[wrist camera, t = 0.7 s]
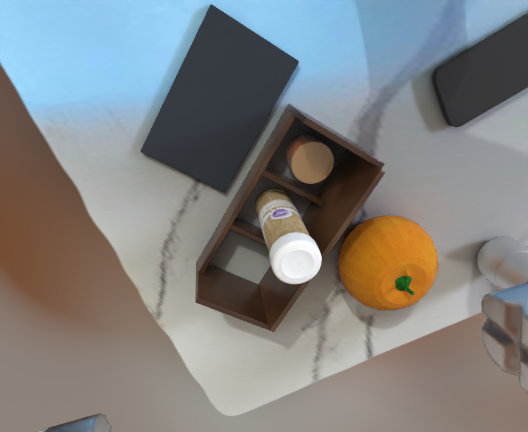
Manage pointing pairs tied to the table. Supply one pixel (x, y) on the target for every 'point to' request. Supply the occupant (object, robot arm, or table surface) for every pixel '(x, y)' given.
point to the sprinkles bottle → (287, 238)
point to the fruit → (388, 263)
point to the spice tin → (309, 159)
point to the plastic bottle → (504, 262)
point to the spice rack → (315, 220)
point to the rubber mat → (218, 100)
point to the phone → (484, 74)
